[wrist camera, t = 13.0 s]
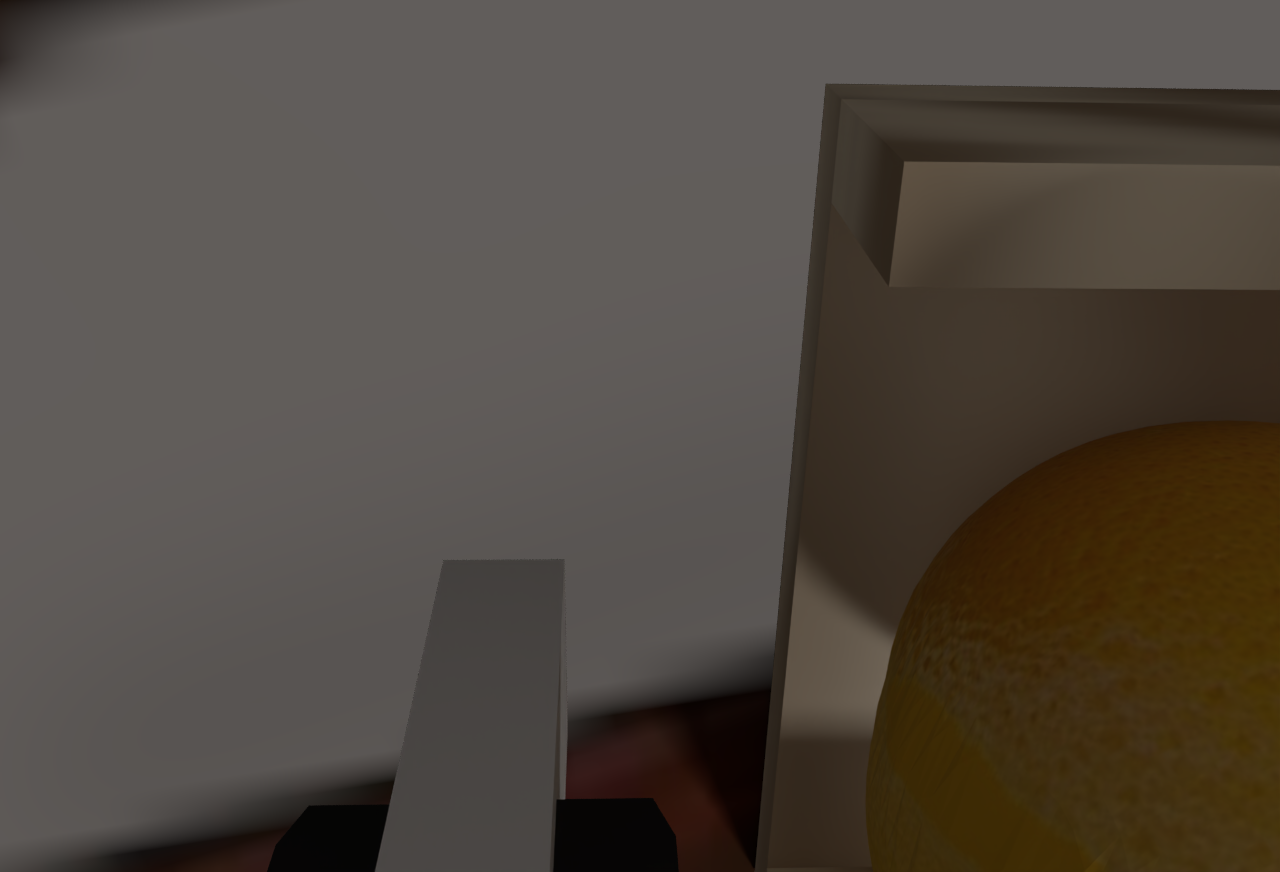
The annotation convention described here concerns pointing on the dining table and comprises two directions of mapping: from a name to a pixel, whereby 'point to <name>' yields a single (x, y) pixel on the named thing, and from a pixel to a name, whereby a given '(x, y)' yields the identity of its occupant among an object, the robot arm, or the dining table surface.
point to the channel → (991, 359)
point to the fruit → (1094, 669)
